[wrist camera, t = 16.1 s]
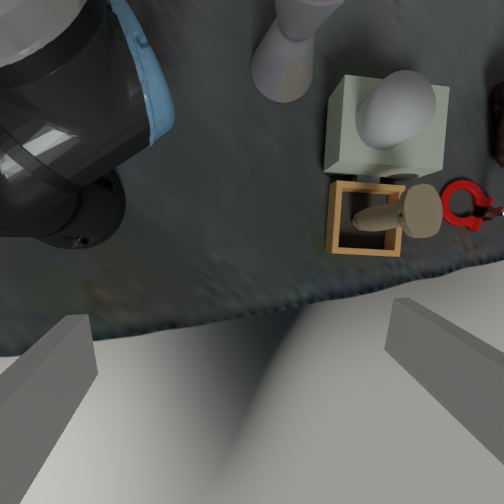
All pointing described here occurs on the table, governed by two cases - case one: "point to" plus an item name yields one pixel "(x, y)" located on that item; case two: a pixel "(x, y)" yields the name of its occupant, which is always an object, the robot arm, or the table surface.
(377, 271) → the table surface
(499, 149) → the dark brown irregular lump
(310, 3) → the lamp
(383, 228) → the handle
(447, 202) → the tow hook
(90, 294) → the table surface
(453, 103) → the table surface
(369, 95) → the grey and tan pieces
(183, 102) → the table surface
